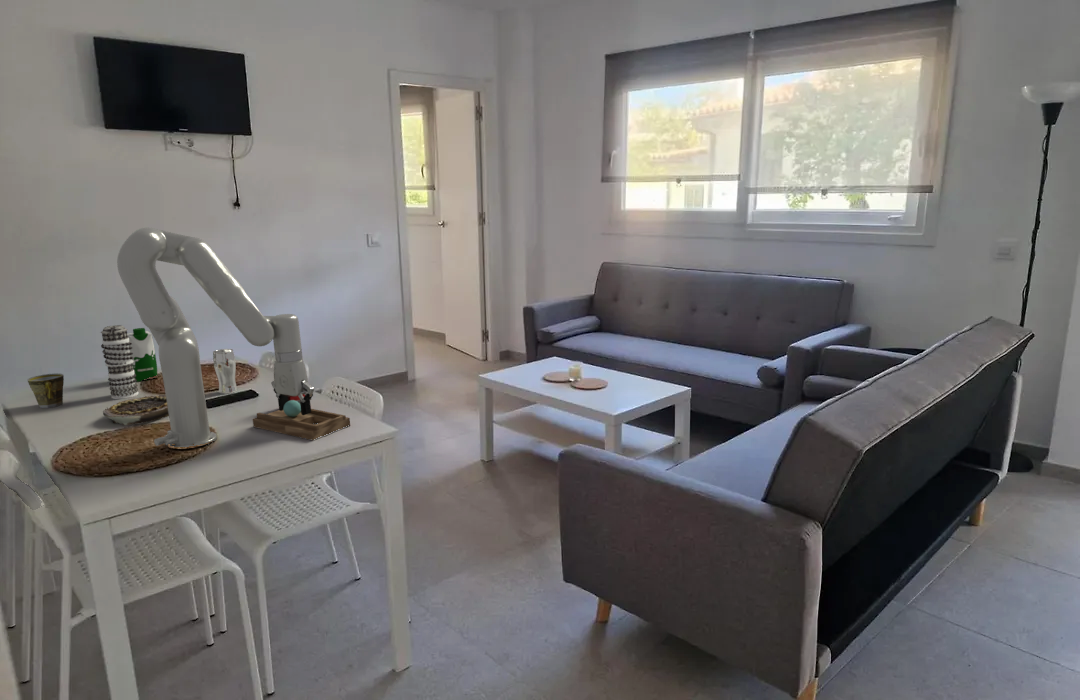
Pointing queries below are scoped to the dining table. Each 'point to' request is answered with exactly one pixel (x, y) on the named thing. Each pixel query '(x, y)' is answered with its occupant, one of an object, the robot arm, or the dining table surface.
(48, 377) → the ceramic cup
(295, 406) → the ball
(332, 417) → the track board
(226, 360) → the beer glass
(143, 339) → the milk carton
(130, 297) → the robot arm
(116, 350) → the decorative candle
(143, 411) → the pie
